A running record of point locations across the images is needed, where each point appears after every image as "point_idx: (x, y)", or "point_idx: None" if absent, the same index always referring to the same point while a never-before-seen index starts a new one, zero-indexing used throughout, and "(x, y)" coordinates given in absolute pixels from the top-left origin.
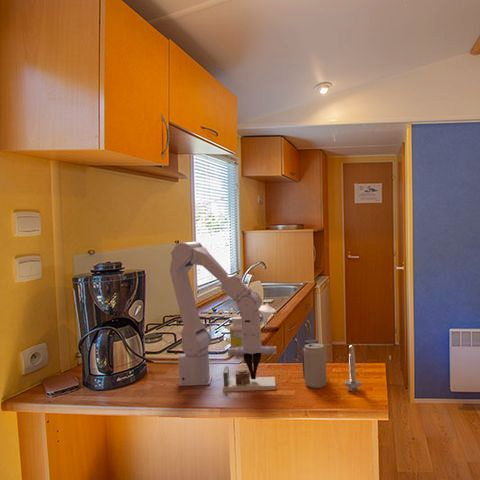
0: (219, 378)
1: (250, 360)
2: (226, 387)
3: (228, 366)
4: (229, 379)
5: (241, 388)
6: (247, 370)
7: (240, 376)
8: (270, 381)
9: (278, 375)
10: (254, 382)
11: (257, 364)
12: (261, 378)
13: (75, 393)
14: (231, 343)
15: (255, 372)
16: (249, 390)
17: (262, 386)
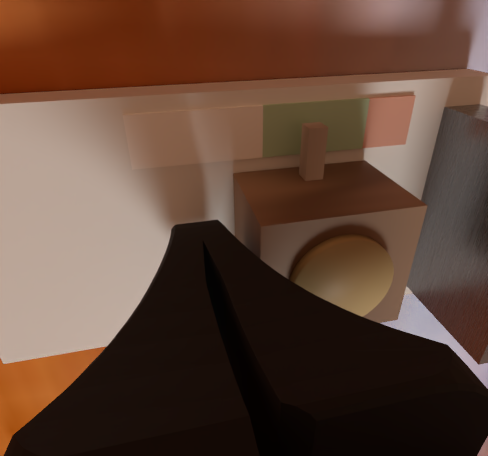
0: (433, 329)
1: (301, 369)
2: (462, 75)
3: (483, 359)
4: None
5: (310, 83)
6: None
7: (356, 199)
8: (6, 248)
9: (17, 425)
10: (183, 214)
11: (125, 339)
12: (128, 313)
13: None
14: None
15: (171, 258)
16: (222, 83)
17: (68, 100)
